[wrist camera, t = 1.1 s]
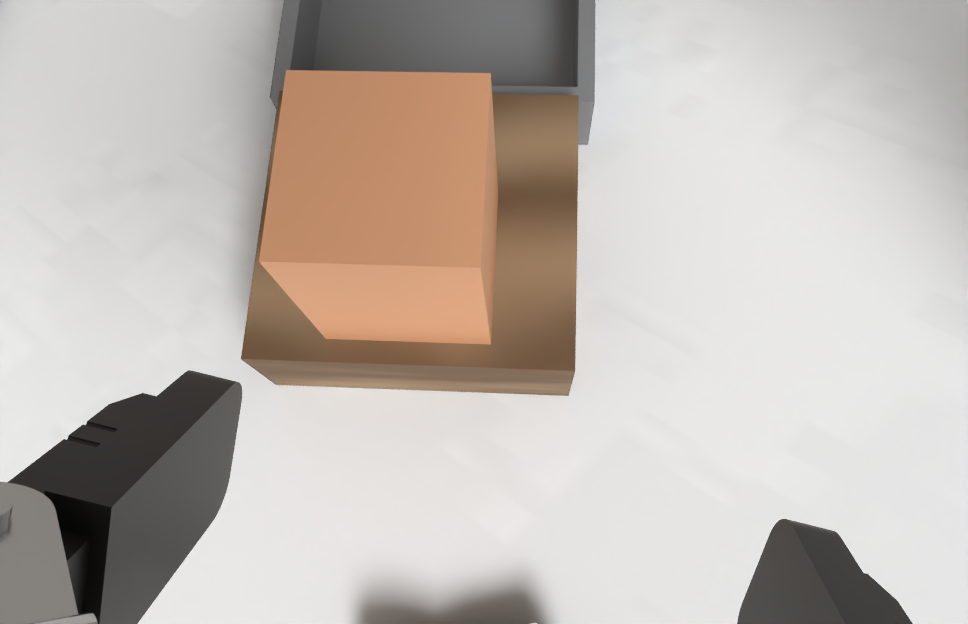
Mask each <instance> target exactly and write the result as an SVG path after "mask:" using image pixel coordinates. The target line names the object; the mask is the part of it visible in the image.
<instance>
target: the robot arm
mask: <svg viewBox="0 0 968 624" xmlns="http://www.w3.org/2000/svg"><path fill="white" fill-rule="evenodd" d="M241 400H242V387H241V384H240V383H239V382H235V381H231V380H227V379H223V378H219V377H215V376H211V375H207V374H203V373H199V372H195V371H187V372H185V373H184V374H183V375H182V376H180V377H179V378H178V379H177V380H176V381H174V382H173V383H172V384H171V385H170V386H169V387H167V388H166V389H165V390H164V391H163V392H161V393H160V394H159V395H158V396H157V397H156V396H152V395H148V394H144V393H142V394H139V395H136V396H133V397H130V398H127V399H124V400H121V401H118V402H115V403H112V404H109V405H108V406H107V407H105V408H104V409H103V410H101V411H100V412H99V413H97V414H96V415H95V416H94V417H92V418H91V419H90V420H88V421H87V424H86V425H82V426H81V427H79V428H78V429H77V430H75V431H74V432H73V433H71V434H70V435H69V437H68V439H67V440H65V439H64V440H62V441H61V442H60V443H58V444H57V445H56V446H54V447H53V448H52V449H51V450H49V451H48V452H47V453H45V454H44V455H43V456H41V457H40V458H39V459H38V460H36V461H35V462H34V463H32V464H31V465H30V466H28V467H27V468H26V469H25V470H23V471H22V472H21V473H19V474H18V475H17V476H15V477H14V478H13V479H11V480H10V481H9V482H8V483H6V482H0V624H137V623H138V622H139V621H140V619H141V618H142V616H143V615H144V614H145V612H146V611H147V610H148V608H149V607H150V606H151V604H152V603H153V601H154V600H155V599H156V597H157V596H158V595H159V593H160V592H161V591H162V589H163V588H164V587H165V585H166V584H167V582H168V581H169V580H170V578H171V577H172V576H173V574H174V573H175V572H176V570H177V569H178V568H179V566H180V565H181V563H182V562H183V561H184V559H185V558H186V557H187V555H188V554H189V553H190V551H191V550H192V549H193V547H194V546H195V544H196V543H197V542H198V540H199V539H200V538H201V536H202V535H203V534H204V532H205V531H206V530H207V528H208V527H209V525H210V524H211V523H212V521H213V520H214V518H215V517H216V515H217V513H218V511H219V509H220V507H221V504H222V502H223V499H224V496H225V493H226V490H227V487H228V482H229V478H230V472H231V465H232V459H233V452H234V446H235V439H236V433H237V427H238V420H239V414H240V407H241ZM737 624H912V622H911V621H910V619H909V618H908V616H907V615H906V613H905V612H904V610H903V609H902V607H901V606H900V604H899V603H898V601H897V600H896V599H895V598H894V597H892V596H891V595H890V594H889V593H888V592H887V591H886V590H885V589H884V588H882V587H881V586H880V585H879V584H878V583H877V582H876V581H875V580H874V579H872V578H871V577H870V576H869V575H868V574H865V573H863V572H862V570H861V569H860V567H859V566H858V564H857V562H856V561H855V559H854V558H853V556H852V555H851V553H850V551H849V550H848V548H847V547H846V545H845V543H844V542H843V540H842V539H841V537H840V536H839V535H838V533H836V532H835V531H831V530H827V529H823V528H819V527H815V526H811V525H807V524H803V523H799V522H795V521H791V520H787V519H781V520H779V521H778V522H777V523H776V524H775V526H774V527H773V529H772V531H771V533H770V535H769V538H768V540H767V543H766V545H765V548H764V550H763V553H762V555H761V558H760V560H759V563H758V565H757V568H756V570H755V573H754V575H753V578H752V580H751V583H750V585H749V588H748V590H747V593H746V595H745V598H744V600H743V603H742V606H741V608H740V612H739V617H738V623H737Z"/></svg>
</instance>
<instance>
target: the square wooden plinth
mask: <svg viewBox="0 0 968 624" xmlns="http://www.w3.org/2000/svg"><path fill="white" fill-rule="evenodd" d="M282 95H283V91H279V98H278V104H277V111H276V118H275V125H274V132H273V139H272V146H271V153H270V160H269V167H268V174H267V181H266V188H265V195H264V202H263V209H262V216H261V223H260V230H259V237H258V244H257V251H256V258H255V265H254V272H253V279H252V286H251V293H250V300H249V307H248V314H247V321H246V328H245V335H244V342H243V349H242V356H241V359H242V360H243V361H244V362H246V363H247V364H249V365H250V366H251V367H253V368H254V369H255V370H257V371H258V372H259V373H261V374H262V375H263V376H265V377H266V378H268V379H269V380H270V381H272V382H273V383H274V384H276V385H299V386H325V387H352V388H378V389H405V390H432V391H458V392H485V393H511V394H538V395H565V396H568V395H569V391H570V388H571V384H572V380H573V377H574V373H575V336H576V263H577V190H578V116H579V95H523V94H492V101H493V117H494V132H495V148H496V164H497V180H498V209H497V230H496V252H495V273H494V295H493V316H492V338H491V345H490V344H460V343H431V342H402V341H373V340H343V339H325V338H324V336H323V335H322V334H321V333H320V332H319V331H318V329H317V328H316V327H315V326H314V325H313V324H312V322H311V321H310V320H309V319H308V318H307V317H306V316H305V314H304V313H303V312H302V311H301V310H300V309H299V307H298V306H297V305H296V304H295V303H294V302H293V300H292V299H291V298H290V297H289V296H288V295H287V294H286V292H285V291H284V290H283V289H282V288H281V287H280V285H279V284H278V283H277V282H276V281H275V280H274V278H273V277H272V276H271V275H270V274H269V273H268V272H267V270H266V269H265V268H264V267H263V266H262V265H261V263H260V262H259V257H260V250H261V243H262V236H263V229H264V222H265V215H266V208H267V201H268V194H269V187H270V180H271V173H272V165H273V158H274V151H275V144H276V137H277V130H278V123H279V116H280V109H281V102H282Z"/></svg>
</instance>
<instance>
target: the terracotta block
mask: <svg viewBox="0 0 968 624" xmlns="http://www.w3.org/2000/svg"><path fill="white" fill-rule="evenodd" d="M497 209H498V180H497V164H496V148H495V132H494V117H493V101H492V85H491V73H450V72H381V71H313V70H286V74H285V81H284V88H283V95H282V102H281V109H280V116H279V123H278V130H277V137H276V144H275V151H274V158H273V165H272V173H271V180H270V187H269V194H268V201H267V208H266V215H265V222H264V229H263V236H262V243H261V250H260V257H259V262H260V263H261V265H262V266H263V267H264V268H265V269H266V270H267V272H268V273H269V274H270V275H271V276H272V277H273V278H274V280H275V281H276V282H277V283H278V284H279V285H280V287H281V288H282V289H283V290H284V291H285V292H286V294H287V295H288V296H289V297H290V298H291V299H292V300H293V302H294V303H295V304H296V305H297V306H298V307H299V309H300V310H301V311H302V312H303V313H304V314H305V316H306V317H307V318H308V319H309V320H310V321H311V322H312V324H313V325H314V326H315V327H316V328H317V329H318V331H319V332H320V333H321V334H322V335H323V336H324V338H325V339H343V340H373V341H402V342H431V343H460V344H490V345H491V338H492V316H493V295H494V273H495V252H496V230H497Z"/></svg>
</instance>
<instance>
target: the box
mask: <svg viewBox="0 0 968 624" xmlns="http://www.w3.org/2000/svg"><path fill="white" fill-rule="evenodd" d="M286 70H313V71H381V72H450V73H491V85H492V94H523V95H579V116H578V144H585V145H588V140H589V133H590V127H591V120H592V114H593V108H594V86H595V0H284V4H283V11H282V18H281V25H280V32H279V38H278V45H277V52H276V59H275V66H274V72H273V79H272V86H271V93H270V98H271V100H272V101H273V103H274V105H275V107H276V109H277V104H278V98H279V91H283V88H284V81H285V74H286Z"/></svg>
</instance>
